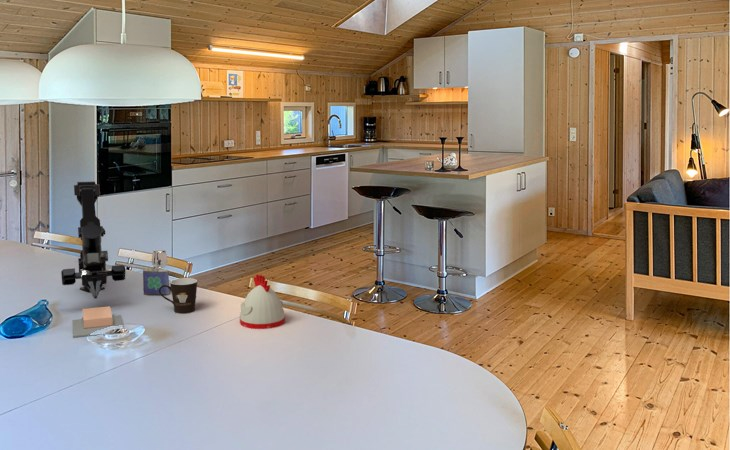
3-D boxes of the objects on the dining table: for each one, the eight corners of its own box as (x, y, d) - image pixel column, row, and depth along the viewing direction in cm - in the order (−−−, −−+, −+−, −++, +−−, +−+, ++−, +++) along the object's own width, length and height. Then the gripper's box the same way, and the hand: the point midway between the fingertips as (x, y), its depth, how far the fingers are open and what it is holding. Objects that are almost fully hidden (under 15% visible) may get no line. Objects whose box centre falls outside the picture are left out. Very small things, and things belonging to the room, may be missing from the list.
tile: (82, 309, 200) (83, 320, 190) (109, 306, 204) (112, 317, 193) (82, 317, 201) (83, 328, 190) (110, 314, 204) (112, 325, 194)
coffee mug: (203, 308, 214) (202, 279, 212) (188, 316, 206) (187, 285, 204) (173, 304, 217) (172, 276, 216) (157, 311, 209) (156, 282, 208)
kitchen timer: (269, 312, 211) (268, 268, 208) (293, 323, 201) (293, 276, 198) (231, 320, 202) (230, 274, 199) (254, 332, 192) (254, 283, 189)
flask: (170, 293, 230) (169, 264, 229) (167, 296, 228) (166, 266, 226) (145, 293, 231) (143, 264, 229) (142, 295, 228) (140, 266, 226)
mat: (72, 321, 198) (72, 319, 198) (120, 316, 204) (120, 314, 204) (73, 337, 184) (72, 336, 184) (124, 331, 190) (124, 330, 190)
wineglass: (154, 284, 242) (152, 253, 240) (151, 281, 247) (150, 250, 245) (169, 283, 244) (168, 252, 242) (166, 279, 249) (165, 249, 247)
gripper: (59, 244, 199) (61, 287, 191) (123, 240, 206) (128, 281, 199) (61, 263, 207) (63, 305, 199) (122, 259, 215) (127, 299, 207)
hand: (95, 297), depth 201 cm, fingers closed
